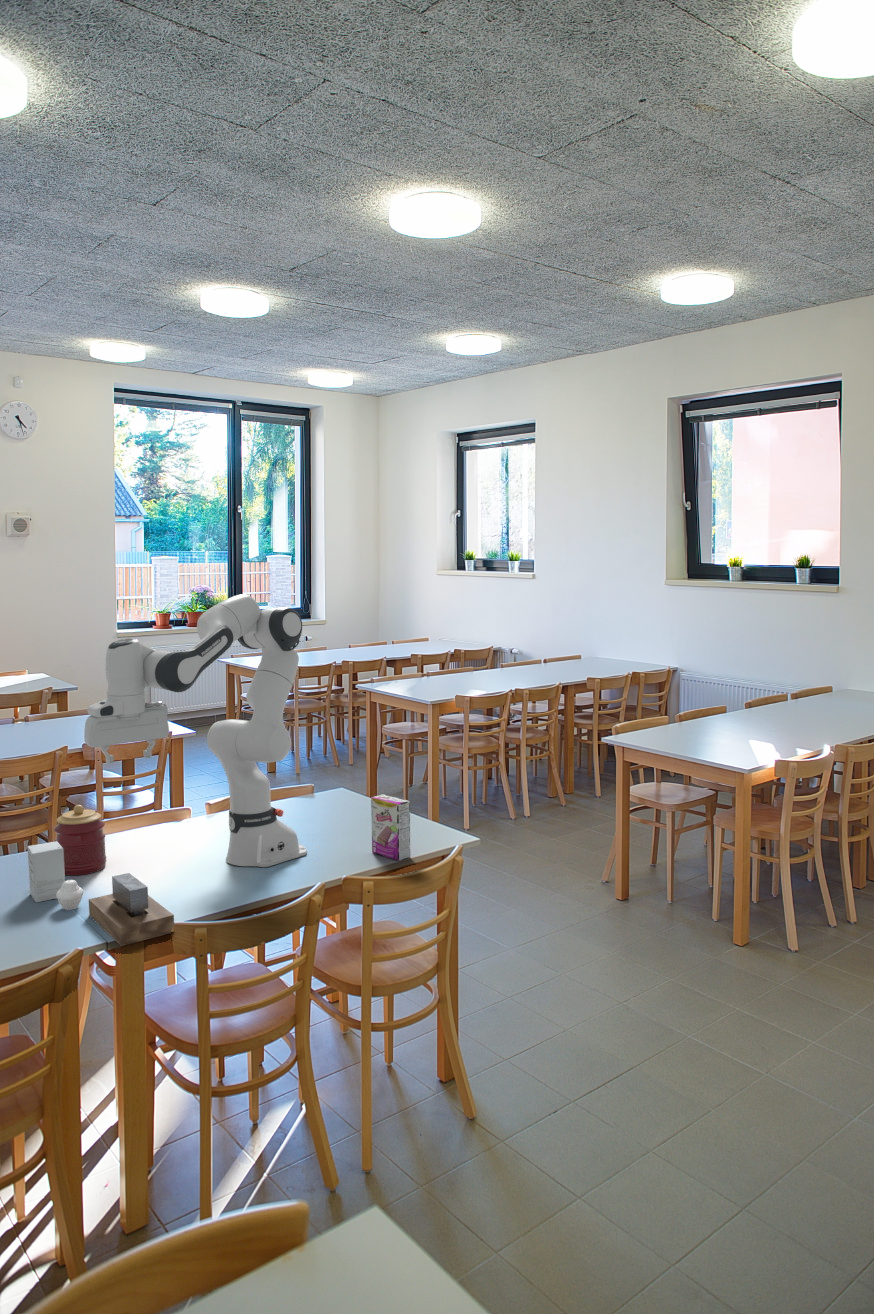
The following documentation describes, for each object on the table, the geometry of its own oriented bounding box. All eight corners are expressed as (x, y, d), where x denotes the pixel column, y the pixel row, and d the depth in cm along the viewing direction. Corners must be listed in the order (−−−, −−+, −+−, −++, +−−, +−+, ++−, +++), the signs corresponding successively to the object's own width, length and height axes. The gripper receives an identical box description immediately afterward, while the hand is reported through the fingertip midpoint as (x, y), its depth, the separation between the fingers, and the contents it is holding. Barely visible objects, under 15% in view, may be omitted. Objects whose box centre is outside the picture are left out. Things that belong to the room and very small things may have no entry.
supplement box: (60, 888, 237) (58, 840, 235) (66, 897, 231) (64, 848, 229) (29, 894, 233) (26, 845, 231) (34, 903, 227) (31, 853, 225)
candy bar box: (370, 853, 263) (370, 797, 261) (383, 849, 267) (382, 793, 265) (398, 862, 256) (397, 803, 254) (411, 857, 259) (410, 800, 257)
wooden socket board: (139, 904, 226) (138, 888, 225) (174, 932, 208) (173, 915, 208) (89, 915, 218) (88, 899, 218) (121, 946, 201) (120, 928, 201)
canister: (44, 873, 249) (41, 808, 247) (79, 858, 261) (76, 797, 259) (83, 879, 244) (79, 813, 242) (117, 863, 256) (114, 801, 254)
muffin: (78, 901, 228) (76, 873, 227) (88, 908, 223) (87, 879, 223) (52, 908, 224) (51, 879, 223) (62, 914, 219) (61, 886, 218)
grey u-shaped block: (130, 914, 219) (129, 873, 218) (149, 929, 210) (147, 887, 209) (113, 918, 217) (112, 876, 216) (131, 934, 207) (129, 890, 206)
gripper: (162, 699, 237) (164, 752, 239) (80, 708, 225) (83, 763, 227) (171, 702, 233) (174, 756, 234) (88, 711, 220) (91, 768, 222)
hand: (128, 760), depth 230 cm, fingers open, 8 cm apart
